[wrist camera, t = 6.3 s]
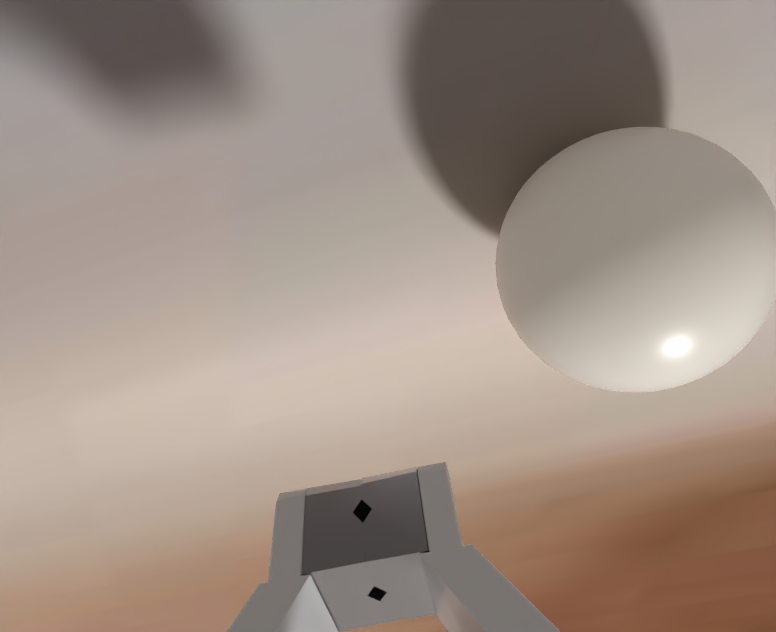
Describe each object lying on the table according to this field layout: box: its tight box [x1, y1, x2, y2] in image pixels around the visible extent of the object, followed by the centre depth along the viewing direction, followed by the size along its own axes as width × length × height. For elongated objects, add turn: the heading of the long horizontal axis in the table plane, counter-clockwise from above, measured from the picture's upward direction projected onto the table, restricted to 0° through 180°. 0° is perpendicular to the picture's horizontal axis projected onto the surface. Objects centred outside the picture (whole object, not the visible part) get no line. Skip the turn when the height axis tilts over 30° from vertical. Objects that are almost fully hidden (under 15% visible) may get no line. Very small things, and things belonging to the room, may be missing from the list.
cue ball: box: [496, 127, 776, 392], centre depth 12 cm, size 6×6×6 cm
